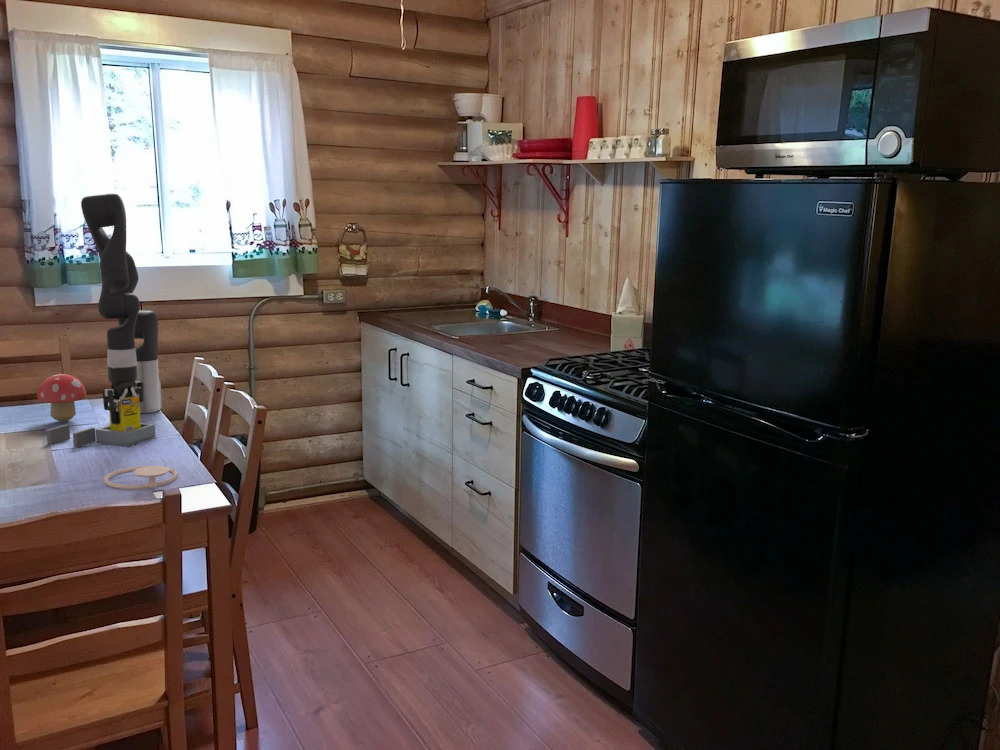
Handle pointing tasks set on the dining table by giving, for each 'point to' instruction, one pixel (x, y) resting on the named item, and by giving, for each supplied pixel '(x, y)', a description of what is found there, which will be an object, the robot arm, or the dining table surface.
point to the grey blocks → (64, 433)
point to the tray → (125, 435)
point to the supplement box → (128, 415)
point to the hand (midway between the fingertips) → (125, 420)
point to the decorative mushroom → (61, 395)
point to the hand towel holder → (143, 472)
